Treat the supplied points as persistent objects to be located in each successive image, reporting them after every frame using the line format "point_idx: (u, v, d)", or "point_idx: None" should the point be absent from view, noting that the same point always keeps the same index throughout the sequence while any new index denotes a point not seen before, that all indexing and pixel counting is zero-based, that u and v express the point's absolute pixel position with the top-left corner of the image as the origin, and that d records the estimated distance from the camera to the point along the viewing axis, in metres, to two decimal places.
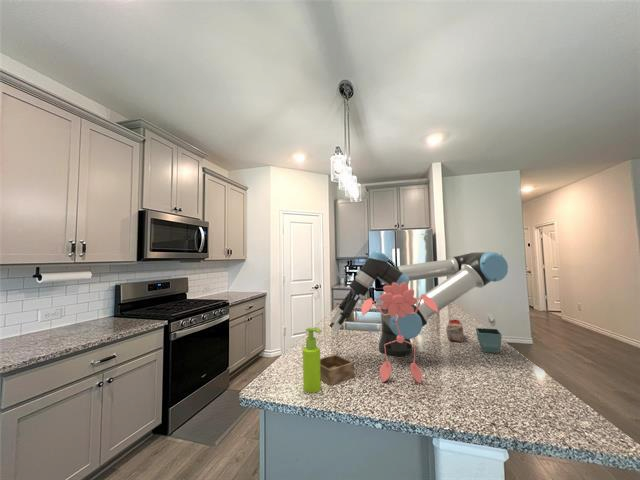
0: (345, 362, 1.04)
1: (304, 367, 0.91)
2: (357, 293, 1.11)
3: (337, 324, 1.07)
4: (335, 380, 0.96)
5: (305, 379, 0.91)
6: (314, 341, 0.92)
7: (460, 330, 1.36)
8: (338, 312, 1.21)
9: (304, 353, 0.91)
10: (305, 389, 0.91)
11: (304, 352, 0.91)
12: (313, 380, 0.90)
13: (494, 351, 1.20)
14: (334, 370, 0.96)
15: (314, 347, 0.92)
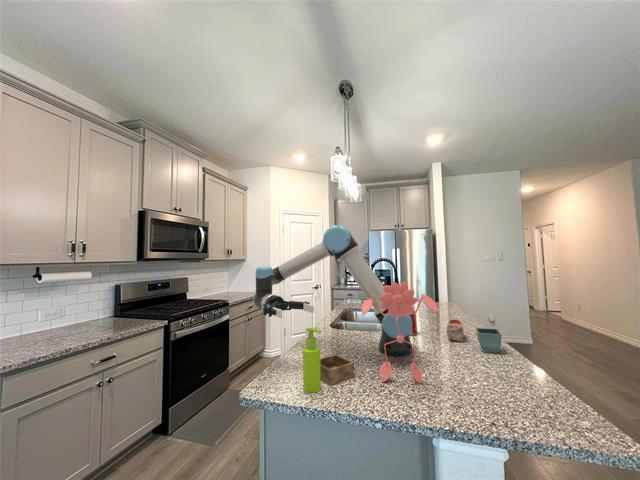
0: (345, 362, 1.04)
1: (304, 367, 0.91)
2: (269, 305, 1.13)
3: (277, 314, 0.99)
4: (335, 380, 0.96)
5: (305, 379, 0.91)
6: (314, 341, 0.92)
7: (460, 330, 1.36)
8: (305, 308, 1.09)
9: (304, 353, 0.91)
10: (305, 389, 0.91)
11: (304, 352, 0.91)
12: (313, 380, 0.90)
13: (494, 351, 1.20)
14: (334, 370, 0.96)
15: (314, 347, 0.92)
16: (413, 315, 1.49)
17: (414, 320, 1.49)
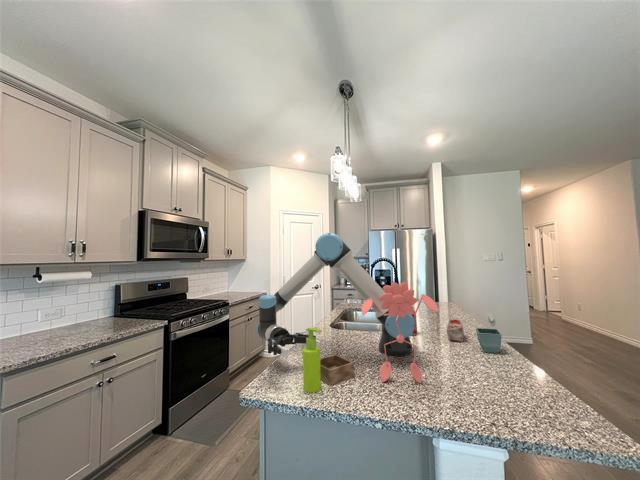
0: (345, 362, 1.04)
1: (304, 367, 0.91)
2: (273, 339, 1.08)
3: (282, 353, 0.94)
4: (335, 380, 0.96)
5: (305, 379, 0.91)
6: (314, 341, 0.92)
7: (460, 330, 1.36)
8: None
9: (304, 353, 0.91)
10: (305, 389, 0.91)
11: (304, 352, 0.91)
12: (313, 380, 0.90)
13: (494, 351, 1.20)
14: (334, 370, 0.96)
15: (314, 347, 0.92)
16: (413, 315, 1.49)
17: (414, 320, 1.49)
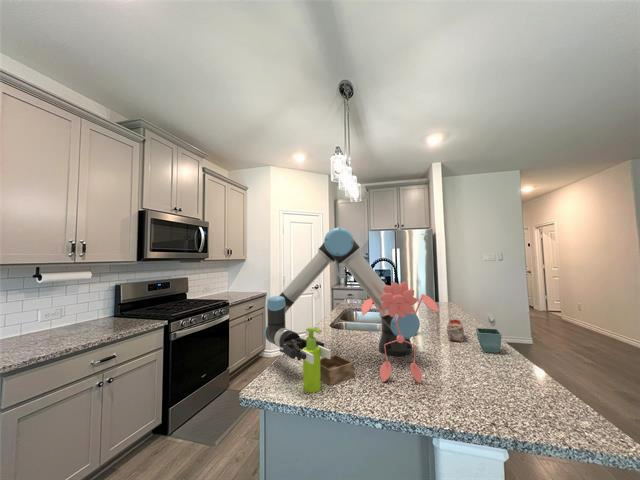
0: (345, 362, 1.04)
1: (304, 367, 0.91)
2: None
3: (307, 358, 0.89)
4: (335, 380, 0.96)
5: (305, 379, 0.91)
6: (314, 341, 0.92)
7: (461, 330, 1.36)
8: (320, 352, 0.94)
9: None
10: (305, 389, 0.91)
11: None
12: (313, 380, 0.90)
13: (494, 351, 1.20)
14: (334, 370, 0.96)
15: (314, 347, 0.92)
16: None
17: None
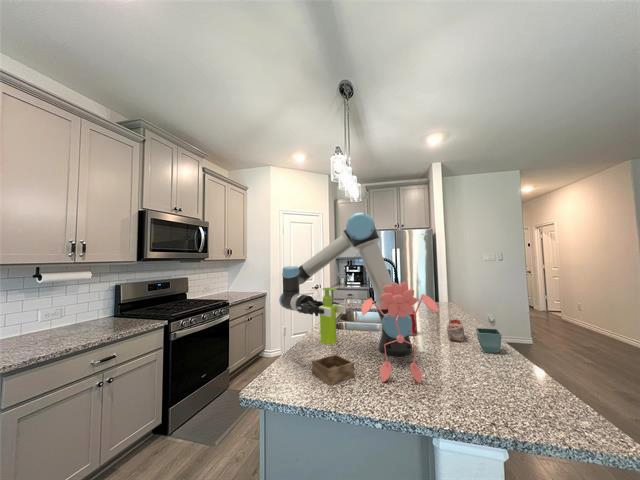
0: (345, 362, 1.04)
1: (321, 322, 1.00)
2: None
3: (325, 312, 0.98)
4: (335, 380, 0.96)
5: (322, 333, 1.00)
6: (330, 299, 1.02)
7: (461, 330, 1.36)
8: None
9: None
10: (323, 342, 1.00)
11: None
12: (330, 333, 0.99)
13: (494, 351, 1.20)
14: (334, 370, 0.96)
15: (330, 304, 1.01)
16: (413, 315, 1.49)
17: (414, 320, 1.49)
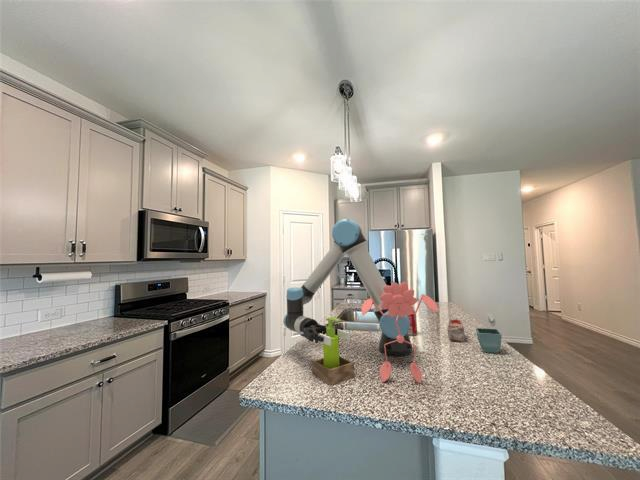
0: (345, 362, 1.04)
1: (325, 353, 1.01)
2: None
3: (325, 340, 0.98)
4: (335, 380, 0.96)
5: (326, 363, 1.01)
6: (333, 329, 1.02)
7: (461, 330, 1.36)
8: (340, 335, 1.05)
9: None
10: None
11: None
12: (333, 364, 1.00)
13: (494, 351, 1.20)
14: (334, 370, 0.96)
15: (333, 335, 1.02)
16: (413, 315, 1.49)
17: (414, 320, 1.49)
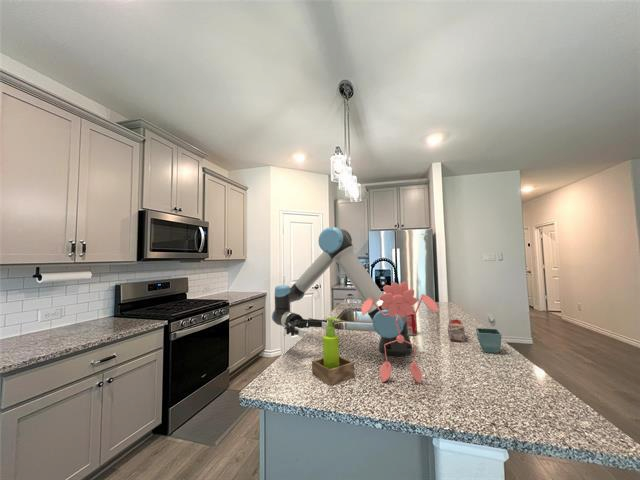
0: (345, 362, 1.04)
1: (324, 353, 1.01)
2: None
3: (299, 333, 1.08)
4: (335, 380, 0.96)
5: (325, 363, 1.01)
6: (333, 329, 1.03)
7: (462, 330, 1.36)
8: (323, 326, 1.18)
9: (324, 340, 1.02)
10: None
11: (324, 339, 1.02)
12: (333, 364, 1.00)
13: (494, 351, 1.20)
14: (334, 370, 0.96)
15: (333, 335, 1.02)
16: (413, 315, 1.49)
17: (414, 320, 1.49)
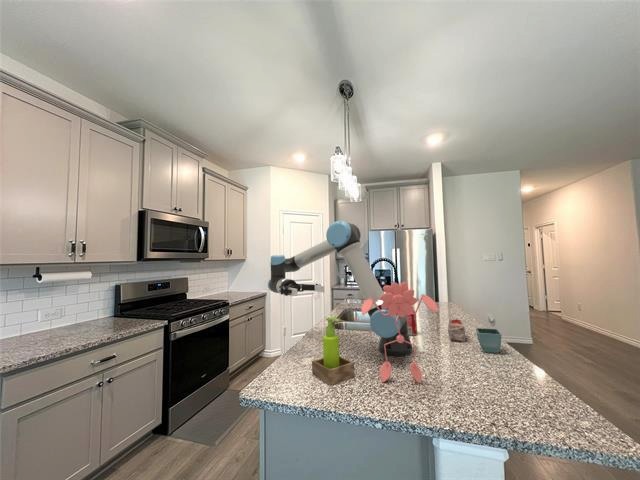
0: (345, 362, 1.04)
1: (324, 353, 1.01)
2: None
3: (292, 292, 1.14)
4: (335, 380, 0.96)
5: (325, 363, 1.01)
6: (333, 329, 1.03)
7: (462, 330, 1.36)
8: (316, 289, 1.24)
9: (324, 340, 1.02)
10: None
11: (324, 339, 1.02)
12: (333, 364, 1.00)
13: (494, 351, 1.20)
14: (334, 370, 0.96)
15: (333, 335, 1.02)
16: (413, 315, 1.49)
17: (414, 320, 1.49)
